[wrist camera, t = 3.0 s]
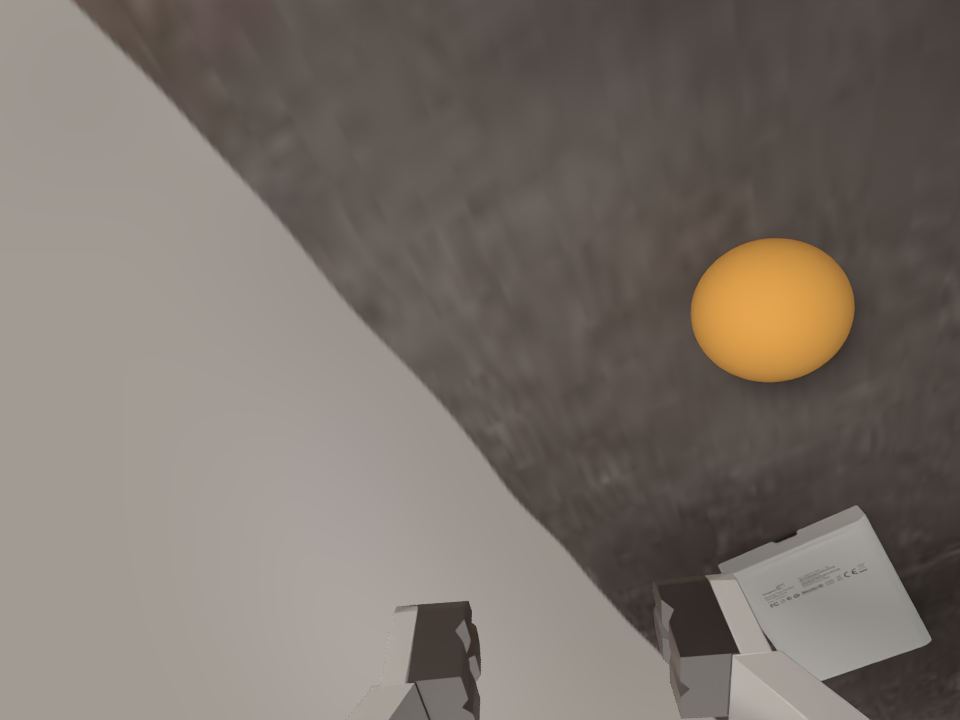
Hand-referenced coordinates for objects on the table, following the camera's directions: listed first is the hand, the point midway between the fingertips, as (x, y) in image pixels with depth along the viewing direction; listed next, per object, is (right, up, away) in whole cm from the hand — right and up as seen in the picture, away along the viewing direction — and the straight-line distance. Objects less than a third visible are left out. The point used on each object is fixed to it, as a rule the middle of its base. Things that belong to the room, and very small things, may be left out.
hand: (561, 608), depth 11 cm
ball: (+10, +7, +10) cm, 16 cm away
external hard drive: (+19, -9, +22) cm, 31 cm away
